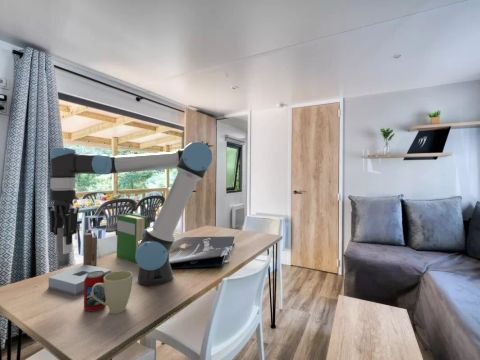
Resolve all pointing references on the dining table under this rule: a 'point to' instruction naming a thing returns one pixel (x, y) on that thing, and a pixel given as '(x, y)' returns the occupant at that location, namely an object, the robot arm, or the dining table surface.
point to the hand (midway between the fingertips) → (63, 252)
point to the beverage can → (99, 292)
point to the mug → (116, 290)
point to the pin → (61, 249)
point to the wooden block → (90, 250)
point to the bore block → (73, 279)
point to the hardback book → (129, 235)
